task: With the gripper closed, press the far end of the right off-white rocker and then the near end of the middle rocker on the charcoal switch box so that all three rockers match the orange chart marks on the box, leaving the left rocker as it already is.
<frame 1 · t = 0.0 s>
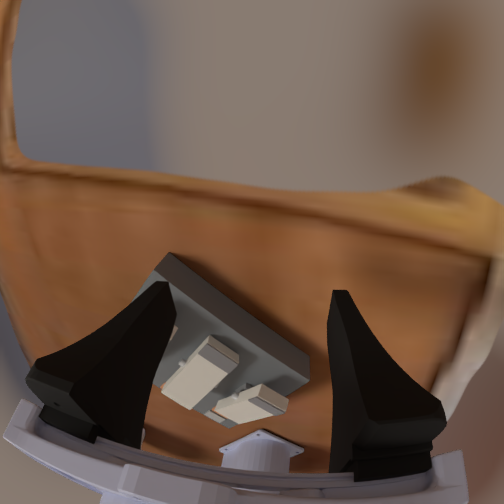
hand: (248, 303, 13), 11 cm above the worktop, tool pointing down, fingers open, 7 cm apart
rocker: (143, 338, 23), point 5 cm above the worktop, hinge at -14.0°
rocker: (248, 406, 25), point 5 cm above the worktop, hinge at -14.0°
middle rocker: (198, 375, 24), point 5 cm above the worktop, hinge at 14.0°
switch box: (205, 345, 28), on the worktop
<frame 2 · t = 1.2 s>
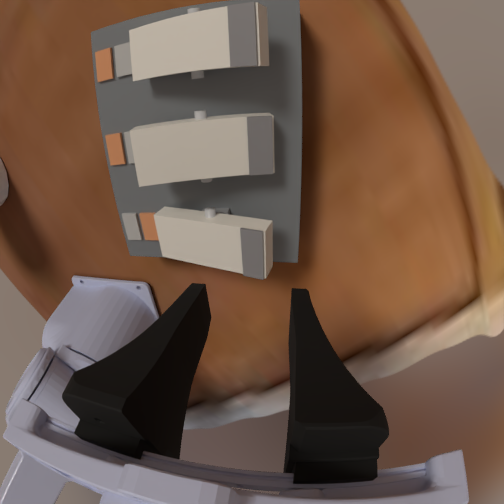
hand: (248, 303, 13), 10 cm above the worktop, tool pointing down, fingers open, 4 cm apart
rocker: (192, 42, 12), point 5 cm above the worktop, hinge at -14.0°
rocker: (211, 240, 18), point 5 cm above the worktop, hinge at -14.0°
middle rocker: (203, 147, 15), point 5 cm above the worktop, hinge at 14.0°
switch box: (207, 130, 19), on the worktop
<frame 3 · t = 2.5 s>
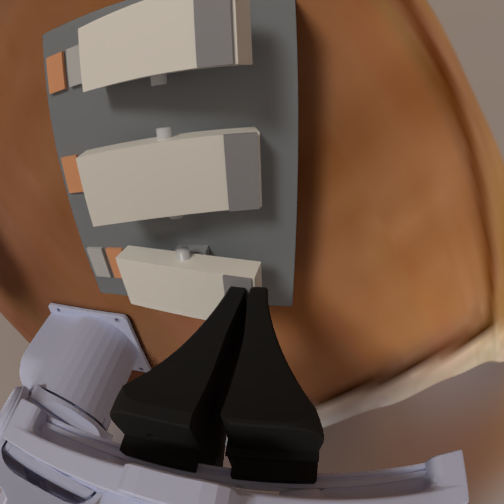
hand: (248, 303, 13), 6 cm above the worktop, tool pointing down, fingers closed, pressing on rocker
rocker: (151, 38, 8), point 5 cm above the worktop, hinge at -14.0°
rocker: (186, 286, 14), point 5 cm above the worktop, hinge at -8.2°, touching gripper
middle rocker: (168, 175, 11), point 5 cm above the worktop, hinge at 14.0°
switch box: (182, 146, 15), on the worktop
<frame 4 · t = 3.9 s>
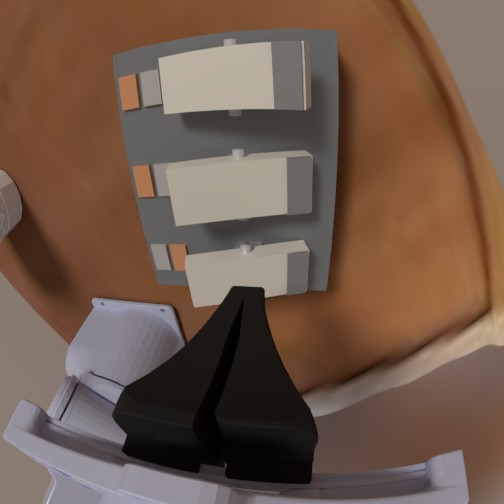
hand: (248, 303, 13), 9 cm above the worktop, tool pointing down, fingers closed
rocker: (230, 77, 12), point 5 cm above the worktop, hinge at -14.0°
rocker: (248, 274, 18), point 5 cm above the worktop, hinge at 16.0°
middle rocker: (241, 186, 15), point 5 cm above the worktop, hinge at 14.0°
white cup: (5, 196, 23), on the worktop
switch box: (236, 159, 19), on the worktop
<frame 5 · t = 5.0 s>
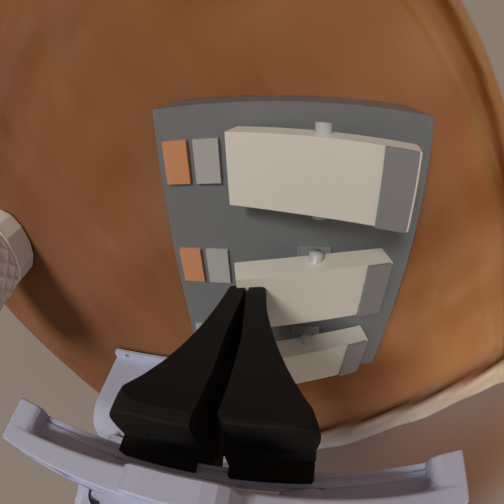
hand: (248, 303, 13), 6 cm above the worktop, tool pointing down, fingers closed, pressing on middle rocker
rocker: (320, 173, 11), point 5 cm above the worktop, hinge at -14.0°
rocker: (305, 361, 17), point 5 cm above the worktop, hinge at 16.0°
middle rocker: (314, 290, 14), point 5 cm above the worktop, hinge at 13.2°, touching gripper
white cup: (12, 239, 22), on the worktop
switch box: (292, 235, 18), on the worktop
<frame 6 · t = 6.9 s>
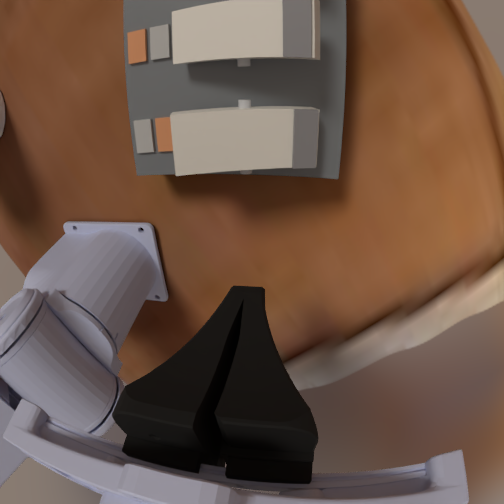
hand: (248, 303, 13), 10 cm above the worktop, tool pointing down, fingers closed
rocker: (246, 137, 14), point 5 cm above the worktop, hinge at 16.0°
middle rocker: (240, 29, 11), point 5 cm above the worktop, hinge at -16.5°
switch box: (237, 40, 15), on the worktop
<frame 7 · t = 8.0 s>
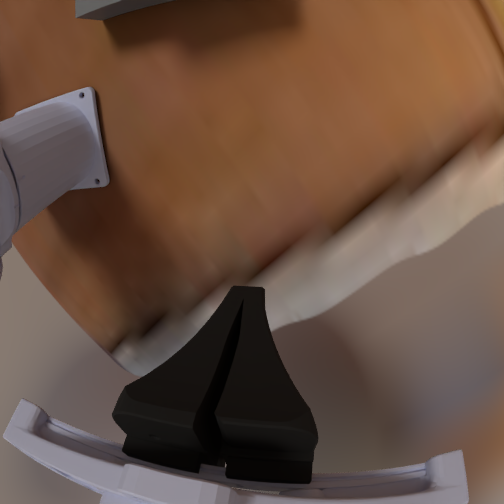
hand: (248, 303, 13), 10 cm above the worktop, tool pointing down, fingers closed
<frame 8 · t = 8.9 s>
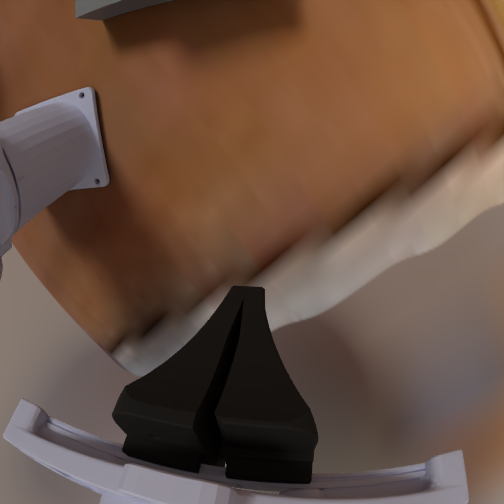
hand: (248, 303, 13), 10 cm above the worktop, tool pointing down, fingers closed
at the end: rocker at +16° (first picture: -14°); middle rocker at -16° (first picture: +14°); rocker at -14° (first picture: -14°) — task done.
